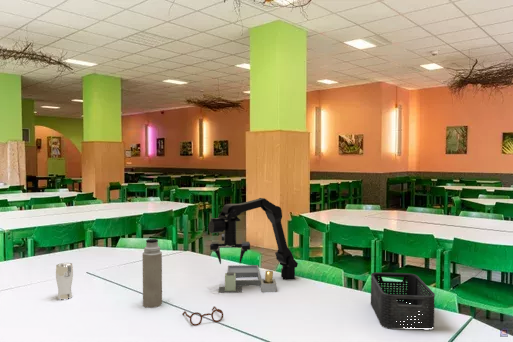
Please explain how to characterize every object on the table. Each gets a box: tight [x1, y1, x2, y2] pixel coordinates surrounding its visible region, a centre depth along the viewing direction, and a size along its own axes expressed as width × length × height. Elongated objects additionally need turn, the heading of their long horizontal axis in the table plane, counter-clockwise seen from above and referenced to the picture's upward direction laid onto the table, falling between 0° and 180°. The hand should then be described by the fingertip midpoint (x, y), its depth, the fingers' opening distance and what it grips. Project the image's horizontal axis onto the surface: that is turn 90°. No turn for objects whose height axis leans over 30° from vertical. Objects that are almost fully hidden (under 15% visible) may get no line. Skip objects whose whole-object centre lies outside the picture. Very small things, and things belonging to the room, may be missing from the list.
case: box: [226, 264, 262, 287], centre depth 219 cm, size 17×30×2 cm, turn 3°
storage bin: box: [370, 271, 436, 329], centre depth 166 cm, size 29×19×13 cm
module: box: [224, 272, 237, 291], centre depth 198 cm, size 5×5×8 cm
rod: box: [264, 270, 274, 283], centre depth 198 cm, size 4×4×8 cm
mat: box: [217, 286, 243, 294], centre depth 198 cm, size 11×8×1 cm
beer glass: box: [55, 262, 74, 300], centre depth 186 cm, size 7×7×15 cm
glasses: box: [181, 306, 224, 327], centre depth 164 cm, size 13×13×5 cm
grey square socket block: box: [259, 278, 277, 293], centre depth 198 cm, size 7×7×4 cm
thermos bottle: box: [142, 238, 163, 309], centre depth 178 cm, size 8×8×28 cm
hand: (230, 263), depth 197 cm, fingers open, 9 cm apart
